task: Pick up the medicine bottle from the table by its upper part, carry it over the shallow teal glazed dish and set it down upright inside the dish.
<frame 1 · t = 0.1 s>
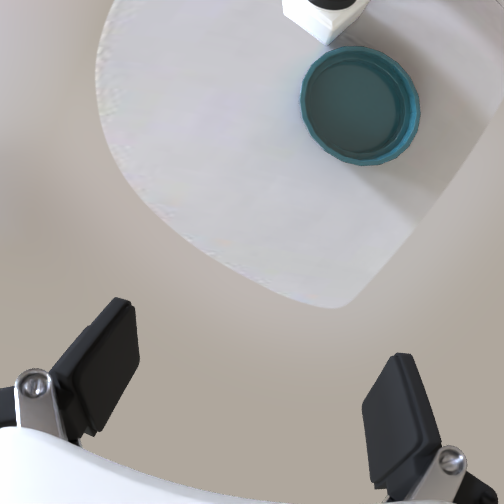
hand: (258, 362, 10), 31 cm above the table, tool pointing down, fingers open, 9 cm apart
dish: (355, 106, 33), on the table
medicine bottle: (321, 14, 28), on the table
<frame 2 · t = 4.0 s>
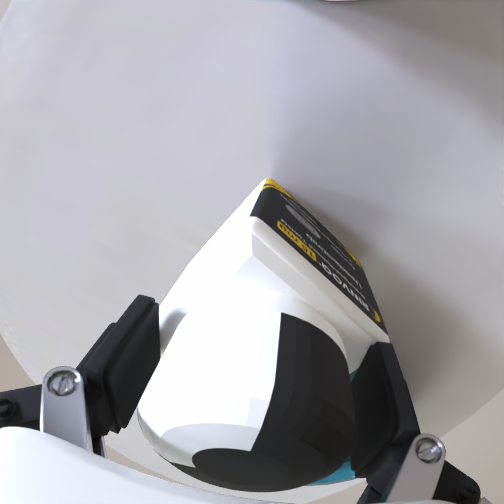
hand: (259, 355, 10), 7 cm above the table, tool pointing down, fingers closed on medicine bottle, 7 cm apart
dish: (316, 407, 22), on the table
medicine bottle: (273, 262, 17), on the table, touching gripper
when the fingers open (8 cm above the table, at t = 11.5 s): medicine bottle stays where it is, resting on dish.
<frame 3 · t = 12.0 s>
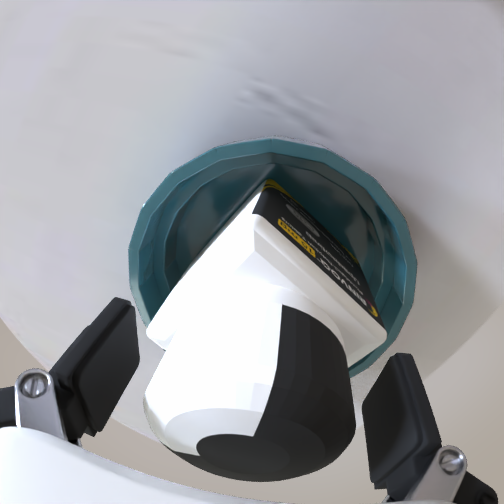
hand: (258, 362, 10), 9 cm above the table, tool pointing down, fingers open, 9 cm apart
dish: (274, 258, 18), on the table
medicine bottle: (274, 261, 18), resting on dish
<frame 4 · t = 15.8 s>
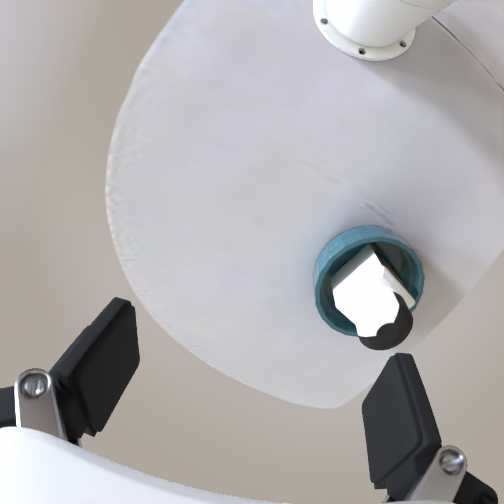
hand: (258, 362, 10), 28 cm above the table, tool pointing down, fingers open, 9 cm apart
dish: (364, 274, 39), on the table
medicine bottle: (365, 275, 38), resting on dish
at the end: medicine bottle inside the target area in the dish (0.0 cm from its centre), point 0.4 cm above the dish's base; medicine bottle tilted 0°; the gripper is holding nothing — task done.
